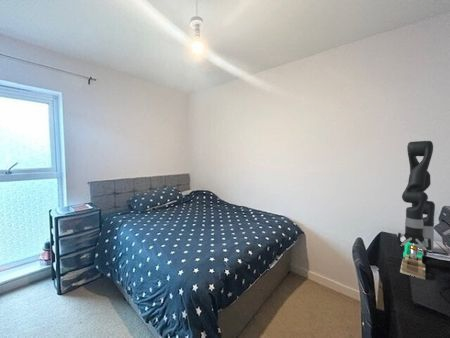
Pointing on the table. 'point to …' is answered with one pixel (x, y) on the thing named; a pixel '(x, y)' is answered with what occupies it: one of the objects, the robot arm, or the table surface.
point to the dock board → (413, 267)
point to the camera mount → (407, 250)
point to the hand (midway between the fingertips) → (413, 253)
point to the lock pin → (413, 252)
